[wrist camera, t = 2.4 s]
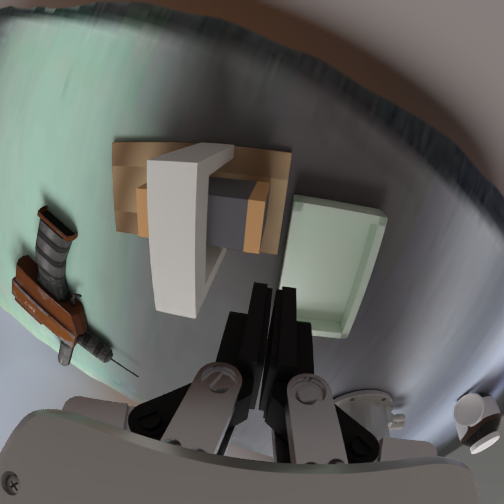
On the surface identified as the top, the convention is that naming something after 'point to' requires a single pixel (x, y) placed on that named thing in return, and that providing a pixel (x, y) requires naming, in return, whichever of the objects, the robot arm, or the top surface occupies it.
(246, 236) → the block
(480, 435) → the spread jar
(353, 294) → the tray
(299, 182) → the top surface
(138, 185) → the holder
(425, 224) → the top surface
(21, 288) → the tool
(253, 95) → the top surface
